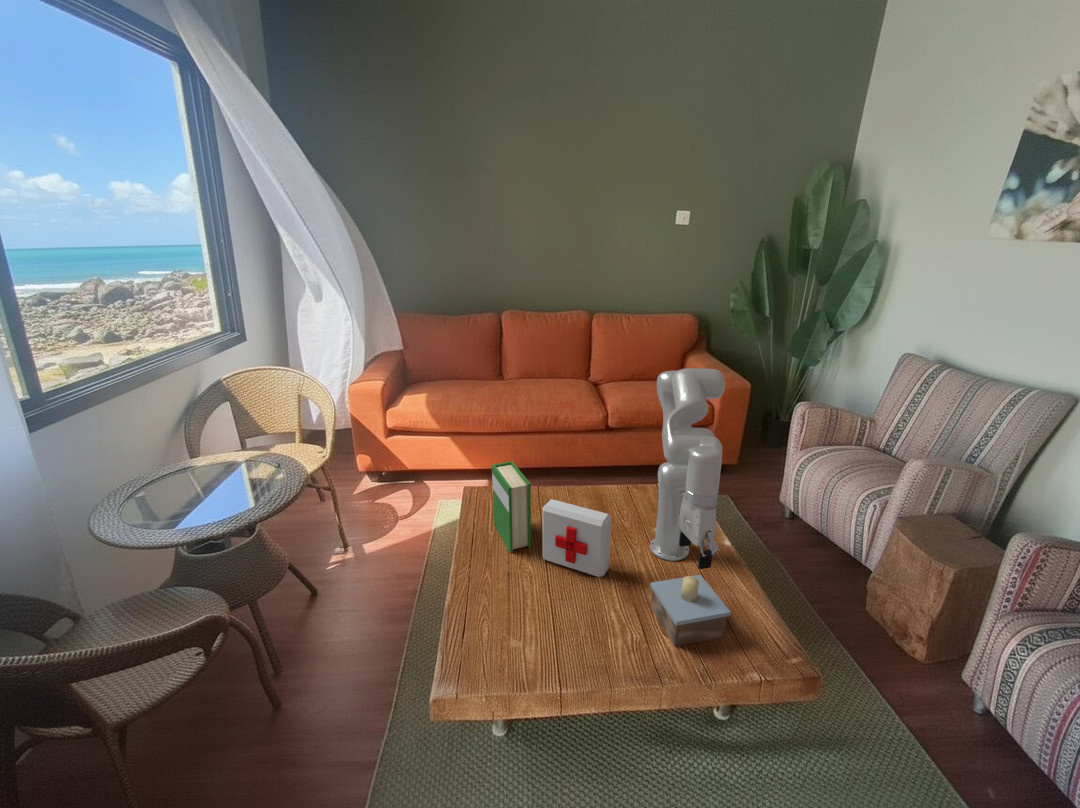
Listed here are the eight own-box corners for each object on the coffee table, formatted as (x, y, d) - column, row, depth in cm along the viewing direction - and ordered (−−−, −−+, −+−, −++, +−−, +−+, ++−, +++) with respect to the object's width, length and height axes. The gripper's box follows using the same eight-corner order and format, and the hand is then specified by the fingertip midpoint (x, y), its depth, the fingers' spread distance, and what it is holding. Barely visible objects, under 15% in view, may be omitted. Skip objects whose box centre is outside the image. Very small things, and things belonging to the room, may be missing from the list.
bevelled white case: (538, 563, 163) (538, 508, 156) (550, 549, 170) (550, 496, 163) (600, 583, 154) (603, 525, 147) (610, 568, 160) (613, 512, 154)
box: (650, 610, 143) (652, 587, 140) (696, 602, 146) (699, 579, 143) (674, 649, 130) (676, 623, 127) (723, 639, 133) (727, 614, 130)
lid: (650, 586, 140) (651, 567, 138) (699, 578, 144) (702, 559, 142) (675, 625, 127) (678, 605, 125) (730, 615, 130) (733, 595, 128)
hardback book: (531, 548, 171) (530, 483, 163) (510, 553, 168) (508, 488, 160) (513, 521, 186) (512, 461, 178) (494, 525, 183) (491, 464, 175)
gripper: (670, 481, 132) (665, 539, 137) (705, 516, 116) (698, 579, 121) (696, 478, 133) (690, 535, 139) (735, 512, 117) (726, 575, 123)
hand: (694, 556), depth 130 cm, fingers open, 9 cm apart
